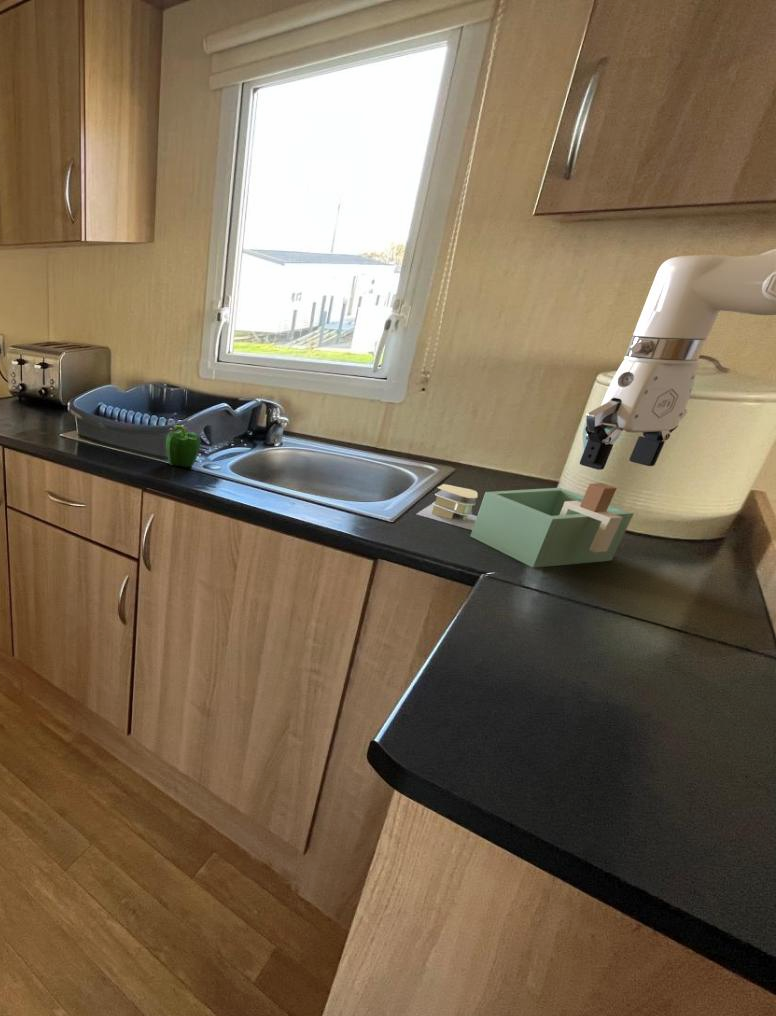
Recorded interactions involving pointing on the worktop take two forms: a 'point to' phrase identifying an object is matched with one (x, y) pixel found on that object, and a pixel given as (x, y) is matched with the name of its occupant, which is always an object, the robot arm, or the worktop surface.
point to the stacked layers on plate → (452, 506)
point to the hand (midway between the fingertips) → (616, 465)
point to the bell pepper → (182, 447)
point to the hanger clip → (597, 513)
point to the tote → (542, 527)
